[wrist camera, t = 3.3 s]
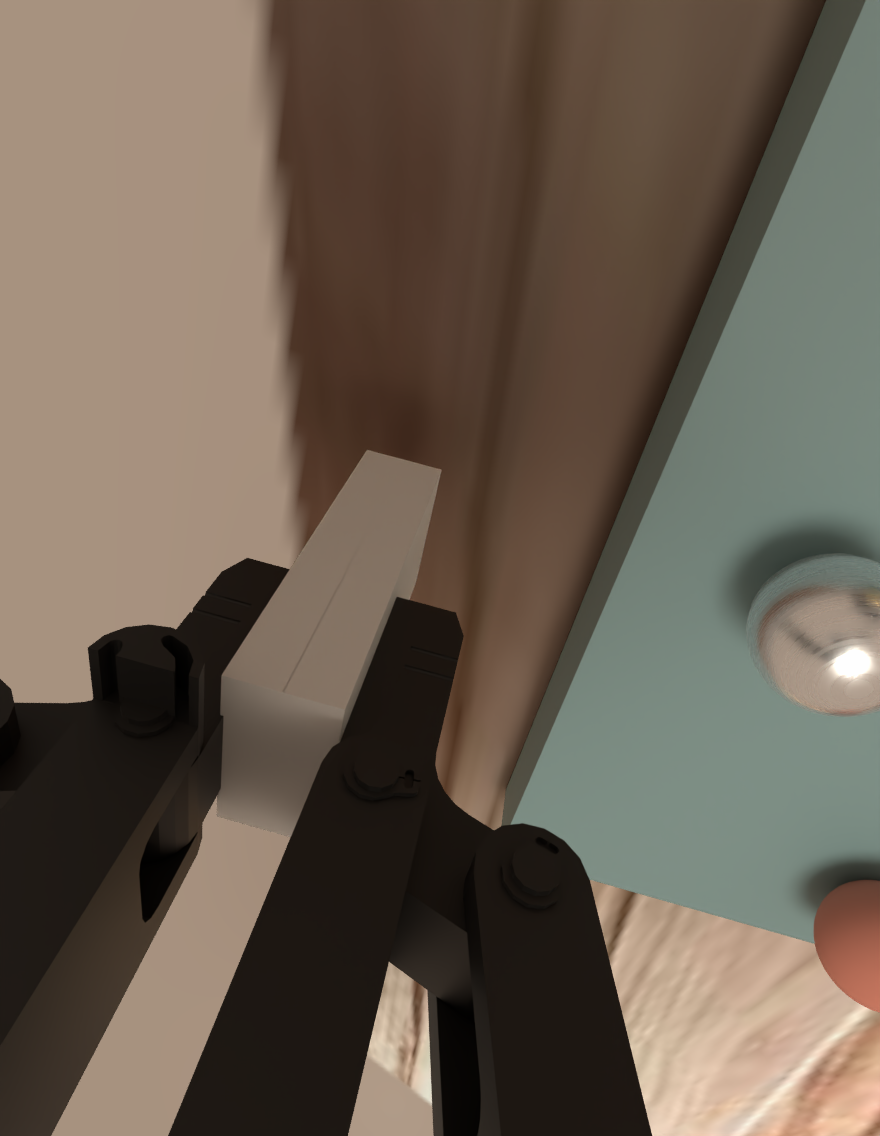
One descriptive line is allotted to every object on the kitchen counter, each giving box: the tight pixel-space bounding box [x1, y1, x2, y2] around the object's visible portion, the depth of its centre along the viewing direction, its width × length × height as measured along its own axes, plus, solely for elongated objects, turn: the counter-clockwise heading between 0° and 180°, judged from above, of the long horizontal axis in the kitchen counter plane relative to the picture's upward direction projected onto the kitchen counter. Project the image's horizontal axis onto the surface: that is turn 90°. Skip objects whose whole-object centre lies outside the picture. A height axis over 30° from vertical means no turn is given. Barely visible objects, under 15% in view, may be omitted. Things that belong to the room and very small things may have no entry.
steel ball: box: [746, 553, 880, 717], centre depth 14 cm, size 3×3×3 cm
